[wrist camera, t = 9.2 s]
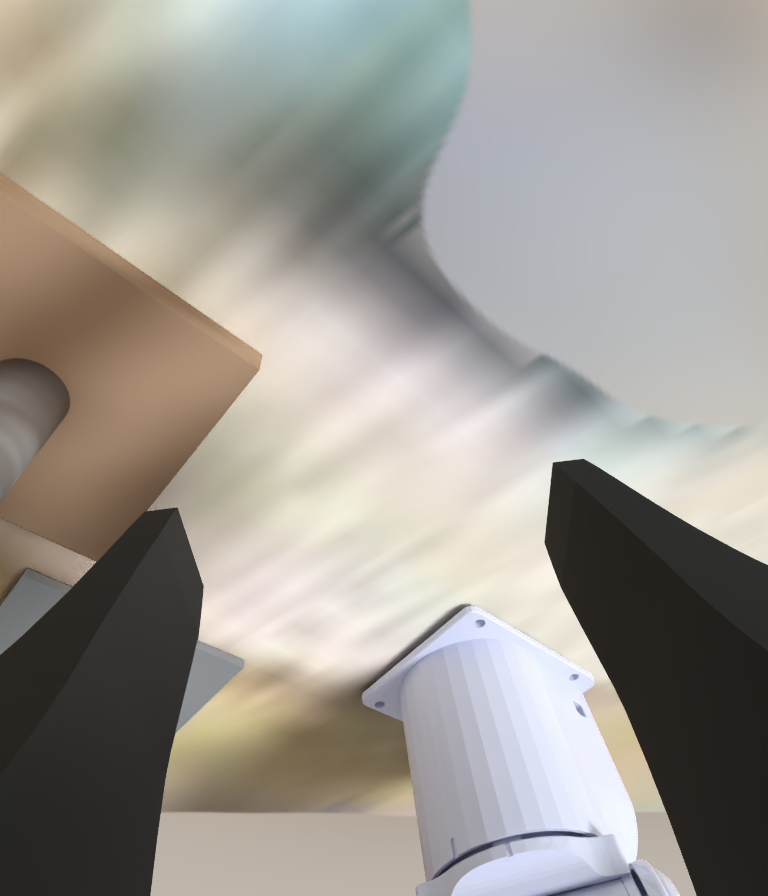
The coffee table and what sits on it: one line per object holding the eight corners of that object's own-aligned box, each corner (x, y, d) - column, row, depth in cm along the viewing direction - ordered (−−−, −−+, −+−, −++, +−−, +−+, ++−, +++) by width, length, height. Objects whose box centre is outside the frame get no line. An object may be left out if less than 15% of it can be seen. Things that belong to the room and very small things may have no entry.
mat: (244, 660, 27) (243, 667, 26) (135, 766, 30) (133, 773, 30) (26, 568, 23) (22, 575, 22) (-71, 703, 26) (-76, 710, 26)
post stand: (262, 354, 19) (244, 450, 14) (113, 543, 22) (54, 675, 17) (-63, 129, 15) (-257, 148, 10) (-185, 402, 18) (-377, 522, 13)
